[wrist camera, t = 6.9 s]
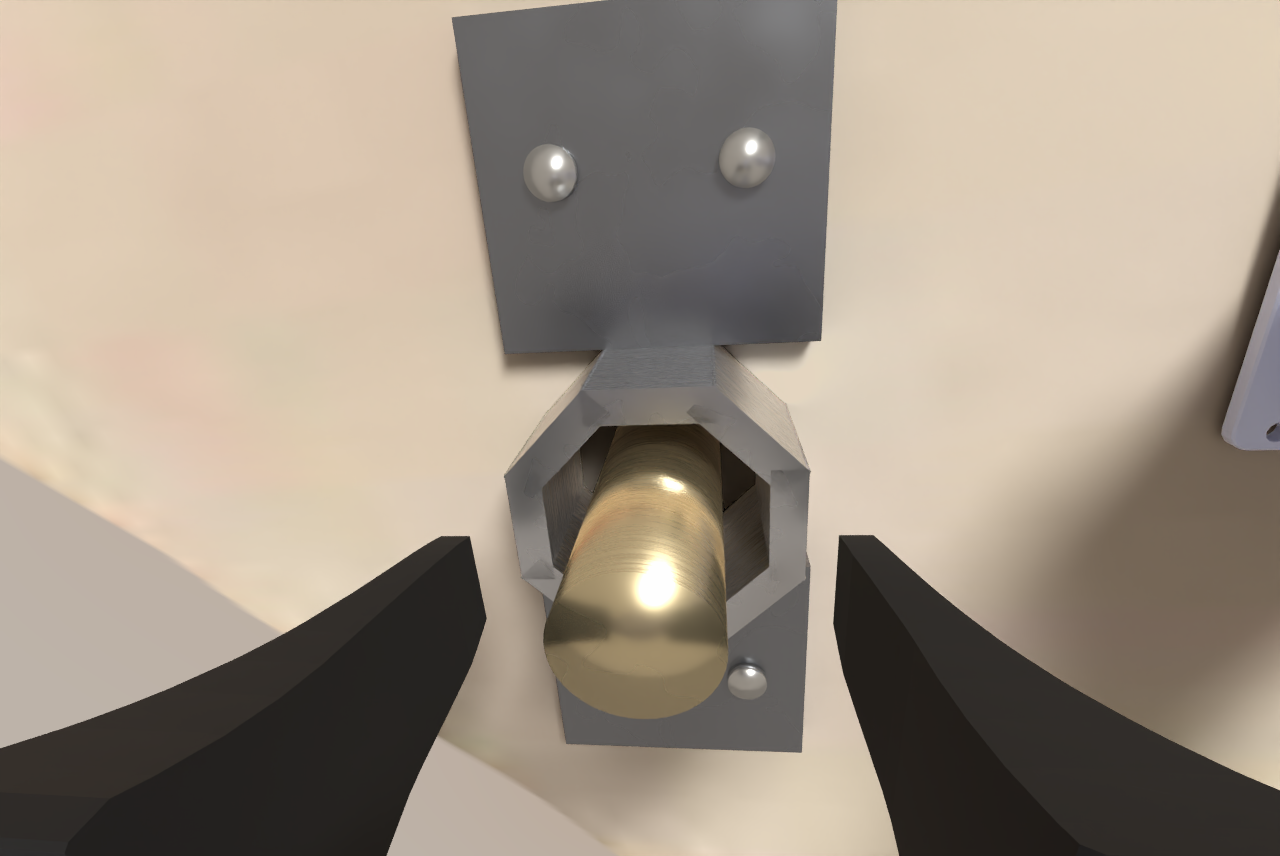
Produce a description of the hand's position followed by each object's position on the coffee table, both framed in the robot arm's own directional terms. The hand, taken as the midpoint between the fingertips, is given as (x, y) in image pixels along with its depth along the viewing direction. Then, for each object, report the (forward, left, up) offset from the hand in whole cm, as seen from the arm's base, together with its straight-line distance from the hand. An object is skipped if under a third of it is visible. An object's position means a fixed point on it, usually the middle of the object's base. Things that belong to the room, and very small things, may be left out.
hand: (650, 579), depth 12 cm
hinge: (0, 0, -6) cm, 6 cm away
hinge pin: (0, 0, -6) cm, 6 cm away
